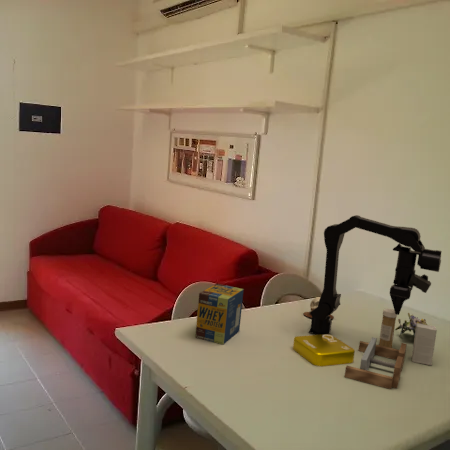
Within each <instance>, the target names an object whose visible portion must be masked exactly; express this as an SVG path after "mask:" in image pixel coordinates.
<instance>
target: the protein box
mask: <svg viewBox="0 0 450 450" xmlns="http://www.w3.org/2000/svg"><path fill="white" fill-rule="evenodd" d="M244 290H245V289H244V288H239V287H236V286H235V287H234V286H230V285H227V284H226V285H225V284H220V283H215V284H214V285H212V286H210V287H208V288H206V289H204V290H203V291H200V292H199V293H198V302H197V303H198V304H197V313H196V314H197V315H196V324H195V326H196V327H195V339H199V340H203V341H207V342H211V343H216V344H220V345H225V344H226V343H227V342H229V341H230V340H231V339H232V338H234V336H235V335H237V334H238V333H240V327H241V326H240V325H241V319H242V309H243V297H244V292H245V291H244Z"/></svg>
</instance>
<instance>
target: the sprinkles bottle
mask: <svg viewBox="0 0 450 450" xmlns="http://www.w3.org/2000/svg"><path fill="white" fill-rule="evenodd" d="M397 317H398V315H396V314H395V311H394V308H384V309H383V311H382V319H381V327H380V333H379V342H378V345H380V346H384V347H389V348H393V342H394V338H395V337H394V336H395V329H396V328H395V326H396V319H397Z"/></svg>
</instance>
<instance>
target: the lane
mask: <svg viewBox="0 0 450 450" xmlns="http://www.w3.org/2000/svg"><path fill="white" fill-rule="evenodd" d="M358 345H359V346H358V352H362V353H365V351H366V349H367V347H368V345H369V342H367V341H362V340H360V341H359V343H358ZM406 349H407V343H402V342H401V343H400V348H399V349H397V348H393V347H392V348H389V347H384V346H380V345H379V344H376V348H375V354H374V356H378V357H383V358H387V359H392V360H395V363H394V364H395V367H394V368H393V373H392V376H390V375H387V374H382V373H378V372H375V371H370V370H363V369H360V367H354V366H350V365H346V367H345V371H344V378H346V379H350V380H354V381H360V382H362V383H367V384H370V385H373V386H378V387H381V388H386V389H389V390H392V388H394V389H398V386H399V383H400V379H401V374H402V371H403V367H404V364H405V358H406V351H407V350H406Z"/></svg>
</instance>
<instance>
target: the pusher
mask: <svg viewBox="0 0 450 450" xmlns="http://www.w3.org/2000/svg"><path fill="white" fill-rule="evenodd" d="M377 339H378V338H376V337H373V336H372V337H371V338H370V341H369V342H368V343H369V345H368V347H367V349H366V351H365V352H363V354H362V357H361V360H360V366H359V369H363V370H367V371H369V367H370V366H371V364H373V365H374V364H375V365H378V366H383V367H386V368H391V369H394V367H395V364H396V363H393V362H389V361H383V360H380V359H376V358H374V356H375V355H374V354H375V348H376V345H377Z"/></svg>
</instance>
